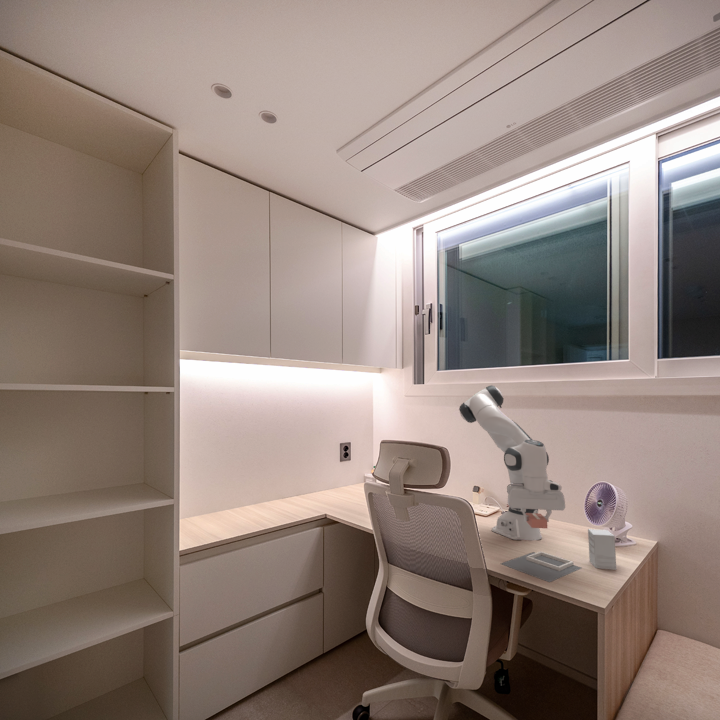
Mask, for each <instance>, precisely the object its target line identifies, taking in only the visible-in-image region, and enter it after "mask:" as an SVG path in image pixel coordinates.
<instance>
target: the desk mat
mask: <svg viewBox="0 0 720 720" xmlns="http://www.w3.org/2000/svg"><path fill="white" fill-rule="evenodd" d="M535 553H536V552H534V551H533V552H532V551H531V552H529V553H527V554H524V555H521V556H518V557H516V558H513V559H510V560H507V561H504V562H501V563H500V565H503V566H505V567H508V568H510V569H513V570H516V571H518V572H521V573H524V574H526V575H529V576H531V577H533V578H537V579H540V580H542V581H545V582H547V583H551V582H554V581H556V580H558V579H560V578H562V577H566V576H568V575H569V574H572V573H574V572H576V571H579V570H582V567H581V566H577V565H572V566H570V567H568V568H565V569H563V570H561V571H558V570H555V569H552V568H549V567H546V566H543V565H540V564H538V563H535V562H532V561H529V560H526V556H529V555H532V554H535ZM535 559H537V560H540V561H543V562H546V563H549V564H552V565H555V566H558V567H559V566H561V565H563V564H566V563H563V562H560V561H557V560H554V559H551V558H548V557H545V556H542V555H541V556H538V557H535Z"/></svg>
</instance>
